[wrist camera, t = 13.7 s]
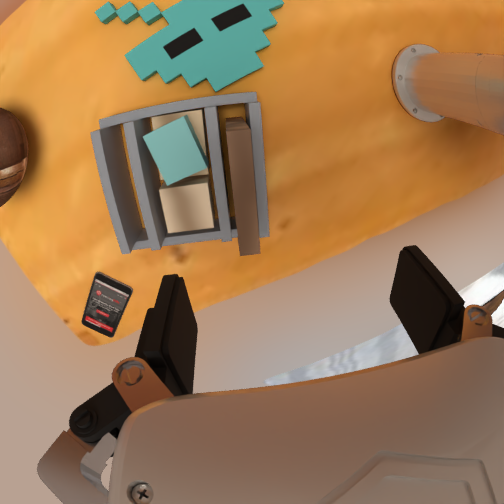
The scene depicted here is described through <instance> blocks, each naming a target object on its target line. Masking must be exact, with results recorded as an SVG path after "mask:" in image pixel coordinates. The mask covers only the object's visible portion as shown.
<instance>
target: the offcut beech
mask: <svg viewBox="0 0 504 504" xmlns="http://www.w3.org/2000/svg"><path fill="white" fill-rule="evenodd" d="M159 192H160V197H161V202H162V207H163V212H164V216H165V221H166V225H167V230H168V233H174V232H182V231H191V230H199V229H207V228H214V219H215V210H214V202H213V195H212V188H211V180H210V173H209V174H205V175H196V176H188V177H185V178H183V179H181V180H179V181H177V182H174V183H172V184H170V185H168V186H167V184H166V182H165V181H164V182H163V184H162V186H161V187H160V189H159Z"/></svg>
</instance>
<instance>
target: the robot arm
mask: <svg viewBox="0 0 504 504" xmlns="http://www.w3.org/2000/svg"><path fill="white" fill-rule="evenodd" d="M392 80H393V86H394V90H395V93H396V96H397V98H398V100H399V102H400V103H401V105H402V106H403V108H404V109H405V110H406V111H407V112H408V113H409V114H410V115H412V116H413V117H415V118H417V119H419V120H422V121H425V122H437V121H439V120H442V119H443V118H445V117H448V118H452V119H456V120H459V121H463V122H466V123H469V124H472V125H475V126H479V127H482V128H485V129H488V130H490V131H493V132H496V133H499V134H502V135H504V55H494V54H479V53H440V52H438V51H437V50H436V49H434V48H432V47H430V46H428V45H423V44H414V45H410V46H407V47H405V48H404V49H403V50H401V51H400V52H399V54H398V55H397V57H396V59H395V62H394V64H393V70H392ZM390 303H391V306H392V307H393V309H394V310H395V312H396V314H397V315H398V317H399V319H400V321H401V323H402V324H403V326H404V328H405V330H406V331H407V333H408V335H409V337H410V339H411V340H412V342H413V344H414V346H415V348H416V350H417V351H418V353H419V355H416V356H413V357H409V358H406V359H402V360H399V361H395V362H391V363H387V364H383V365H379V366H375V367H371V368H367V369H363V370H359V371H354V372H350V373H345V374H340V375H335V376H330V377H325V378H319V379H314V380H308V381H302V382H295V383H289V384H282V385H274V386H266V387H258V388H249V389H239V390H229V391H219V392H206V393H196V394H193V380H194V367H195V355H196V342H197V332H198V330H197V323H196V320H195V316H194V313H193V310H192V306H191V303H190V300H189V296H188V293H187V289H186V286H185V283H184V279H183V277H179V276H178V275H177V274H172V275H164V276H163V278H162V282H161V285H160V289H159V292H158V296H157V299H156V303H155V306H154V308H149V309H148V310H147V313H146V316H145V320H144V323H143V327H142V331H141V334H140V338H139V342H138V345H137V350H136V353H135V357H130V358H126V359H124V360H122V361H120V362H119V363H118V364H117V365H116V367H115V368H114V369H113V372H112V381H113V383H111V384H110V385H108V386H107V387H106V388H104V389H103V390H102V391H100V392H99V393H97V394H96V395H94V396H93V397H92V398H90V399H89V400H87V401H86V402H84V403H83V404H82V405H80V406H79V407H77V408H76V409H75V410H74V411H73V412H72V414H71V416H70V420H69V426H70V428H69V430H68V431H67V432H66V431H63V432H62V433H61V434H60V436H59V437H58V438H57V439H56V441H55V442H54V443H53V444H52V445H51V447H50V448H49V449H48V451H47V452H46V453H45V454H44V455H43V457H42V458H41V459H40V461H39V463H38V467H37V472H38V475H39V477H40V479H41V480H42V481H43V482H44V483H45V485H46V486H47V487H48V488H49V489H50V490H51V491H52V492H53V493H54V494H55V495H56V497H58V498H59V500H60V501H61V502H63V504H504V328H502V327H499V326H497V325H494V324H492V317H491V315H490V313H489V312H488V311H487V310H486V309H485V308H484V307H482V306H479V305H469V306H467V307H466V308H465V307H464V306H463V305H464V303H465V301H464V300H463V299H462V298H461V296H460V295H459V294H458V293H457V291H456V290H455V289H454V288H453V287H452V285H451V284H450V283H449V282H448V281H447V279H446V278H445V277H444V276H443V275H442V273H441V272H440V271H439V270H438V269H437V268H436V267H435V266H434V264H433V263H432V262H431V261H430V260H429V259H428V258H427V256H426V255H425V254H424V253H423V252H422V251H421V250H420V249H419V248H418V247H417V246H416V245H413V246H407V247H404V248H403V250H401V251H400V254H399V259H398V263H397V268H396V273H395V277H394V281H393V286H392V290H391V294H390ZM109 457H113V461H112V468H111V475H110V483H109V491H108V490H107V489H106V488H105V487H104V486H103V485H102V482H101V474H102V472H103V470H104V468H105V467H106V466H107V464H106V461H107V460H108V459H109ZM148 484H149V485H148Z"/></svg>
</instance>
